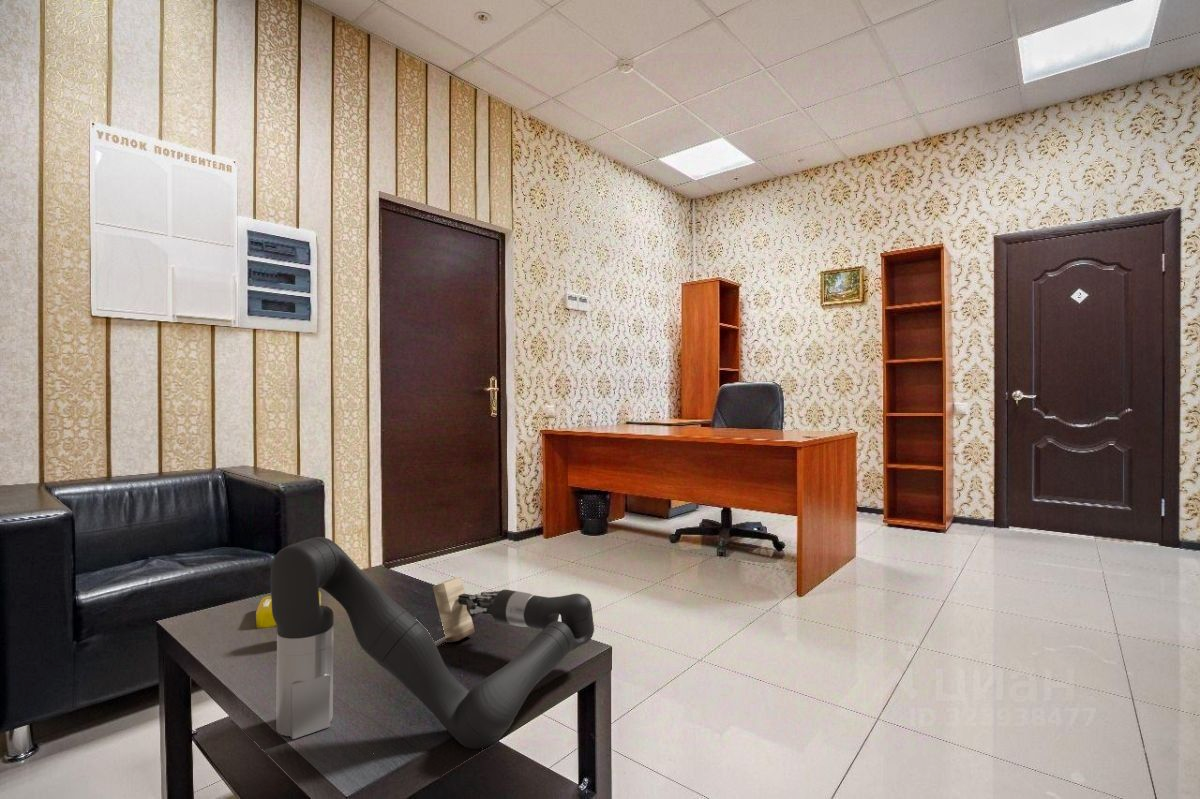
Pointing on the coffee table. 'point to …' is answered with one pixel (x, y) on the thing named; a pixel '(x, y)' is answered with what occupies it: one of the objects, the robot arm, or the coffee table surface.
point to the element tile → (267, 613)
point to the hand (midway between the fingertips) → (460, 598)
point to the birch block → (453, 610)
